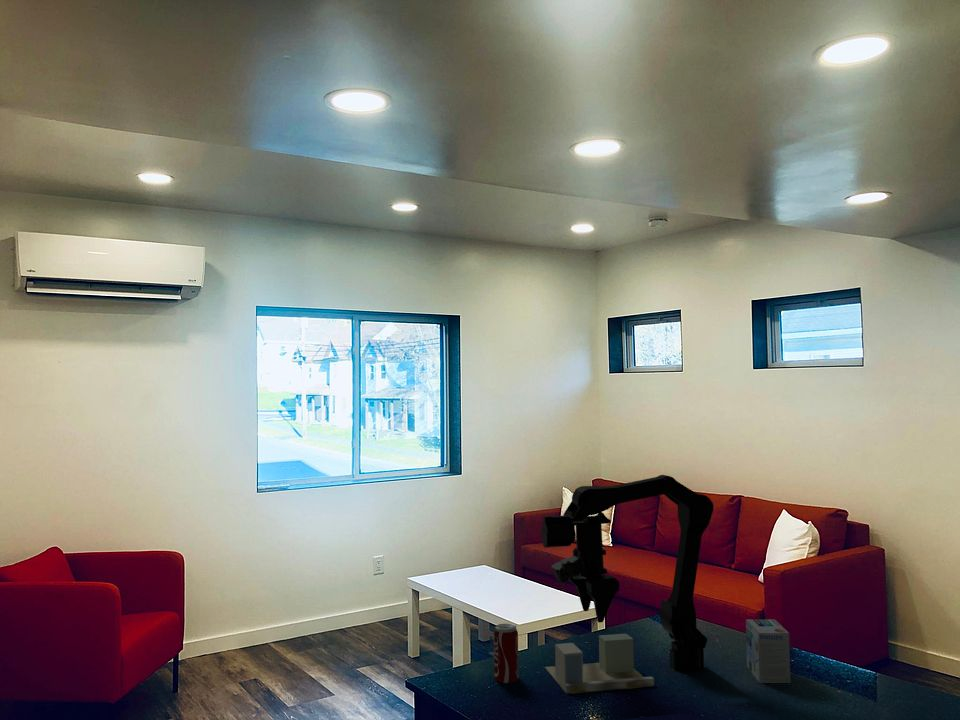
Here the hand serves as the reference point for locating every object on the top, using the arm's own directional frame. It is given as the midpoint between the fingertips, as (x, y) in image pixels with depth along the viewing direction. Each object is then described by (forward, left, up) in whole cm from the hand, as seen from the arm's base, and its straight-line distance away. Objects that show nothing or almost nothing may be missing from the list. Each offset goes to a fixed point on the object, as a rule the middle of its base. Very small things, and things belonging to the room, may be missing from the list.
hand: (592, 616), depth 167 cm
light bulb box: (-38, +7, -13) cm, 41 cm away
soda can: (+19, -1, -13) cm, 24 cm away
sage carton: (-6, -1, -12) cm, 13 cm away
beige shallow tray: (0, +2, -13) cm, 13 cm away
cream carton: (+7, +4, -12) cm, 14 cm away
